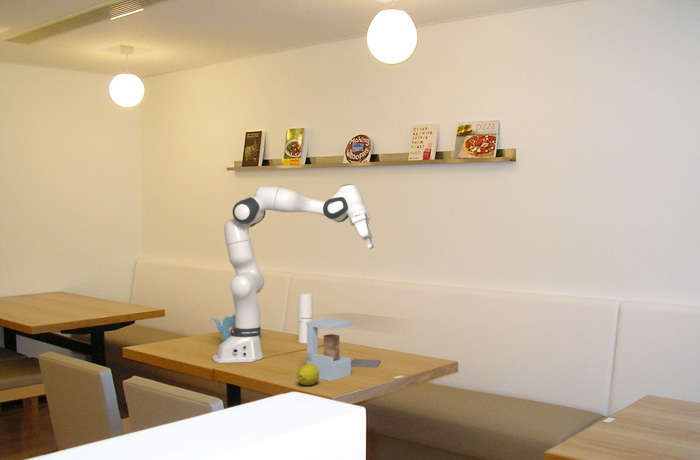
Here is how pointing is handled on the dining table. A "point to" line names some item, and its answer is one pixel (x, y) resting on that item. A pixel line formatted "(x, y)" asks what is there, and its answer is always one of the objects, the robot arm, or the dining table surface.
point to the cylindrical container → (304, 315)
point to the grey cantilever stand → (325, 363)
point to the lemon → (308, 374)
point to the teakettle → (225, 326)
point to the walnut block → (331, 346)
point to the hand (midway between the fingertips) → (371, 248)
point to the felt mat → (365, 363)
